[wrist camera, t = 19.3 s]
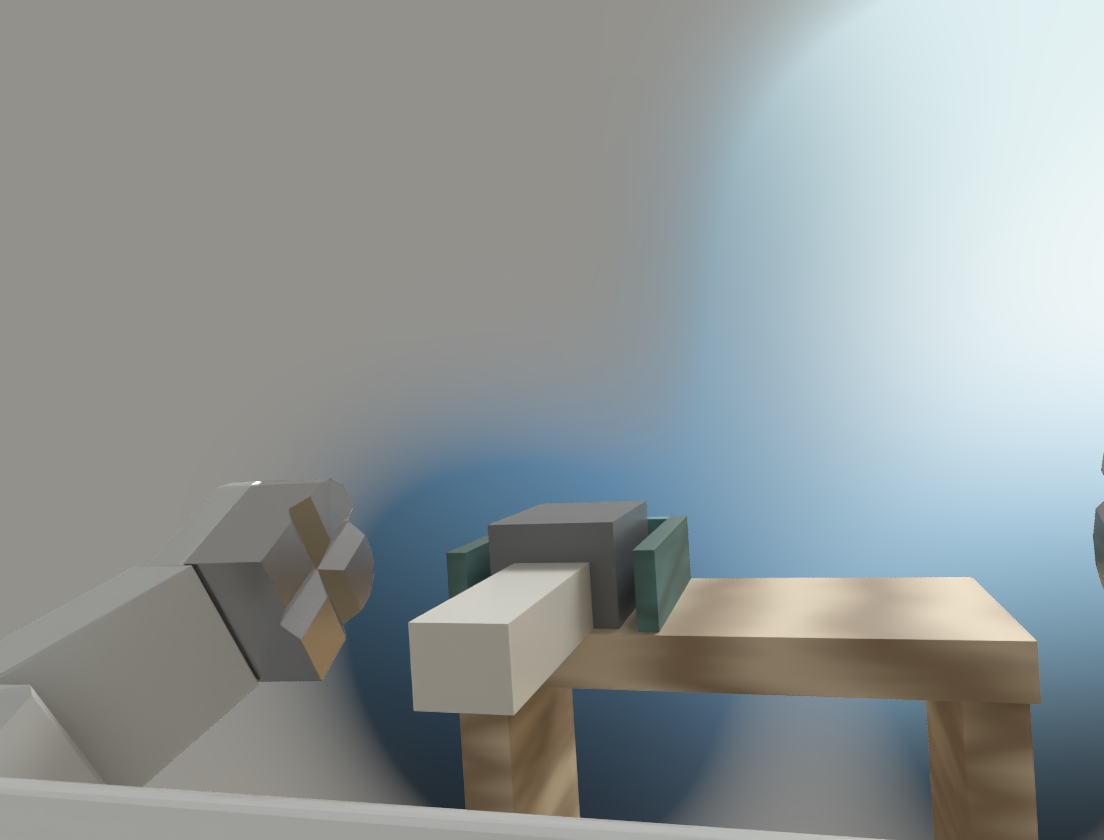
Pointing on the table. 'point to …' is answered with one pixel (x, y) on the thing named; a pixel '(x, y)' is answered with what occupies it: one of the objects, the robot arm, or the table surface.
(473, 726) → the brown and teal frame
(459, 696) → the beige and grey block
